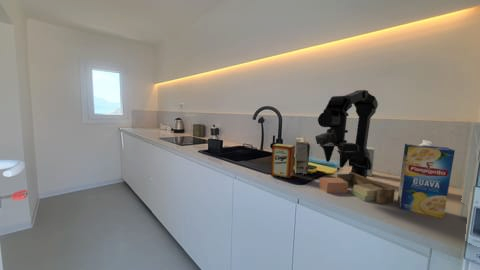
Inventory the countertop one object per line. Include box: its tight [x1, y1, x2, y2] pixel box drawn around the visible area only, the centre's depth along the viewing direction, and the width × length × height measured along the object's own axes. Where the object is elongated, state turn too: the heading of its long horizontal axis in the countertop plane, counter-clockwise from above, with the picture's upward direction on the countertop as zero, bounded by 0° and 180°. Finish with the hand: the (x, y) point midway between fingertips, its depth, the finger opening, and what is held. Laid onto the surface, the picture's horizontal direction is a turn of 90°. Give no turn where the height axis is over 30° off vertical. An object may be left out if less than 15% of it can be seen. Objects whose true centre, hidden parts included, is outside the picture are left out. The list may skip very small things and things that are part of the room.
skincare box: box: [366, 146, 375, 177], centre depth 106 cm, size 8×6×15 cm
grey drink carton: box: [294, 141, 311, 175], centre depth 105 cm, size 9×6×16 cm
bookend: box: [336, 173, 354, 186], centre depth 90 cm, size 8×5×5 cm, turn 101°
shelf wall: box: [348, 171, 396, 204], centre depth 81 cm, size 6×21×5 cm, turn 11°
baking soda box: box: [270, 143, 296, 179], centre depth 98 cm, size 10×6×16 cm
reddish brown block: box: [318, 177, 349, 194], centre depth 82 cm, size 9×6×4 cm, turn 96°
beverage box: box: [396, 143, 456, 219], centre depth 66 cm, size 7×11×22 cm, turn 57°
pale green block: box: [350, 184, 382, 202], centre depth 76 cm, size 9×7×4 cm
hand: (334, 164), depth 81 cm, fingers open, 9 cm apart
